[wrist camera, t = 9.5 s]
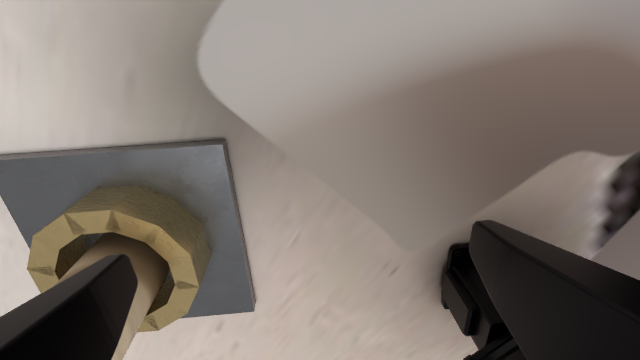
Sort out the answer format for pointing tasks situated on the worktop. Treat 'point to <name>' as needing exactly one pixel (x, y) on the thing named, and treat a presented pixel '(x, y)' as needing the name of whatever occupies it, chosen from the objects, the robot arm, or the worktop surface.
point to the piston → (148, 273)
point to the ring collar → (137, 218)
